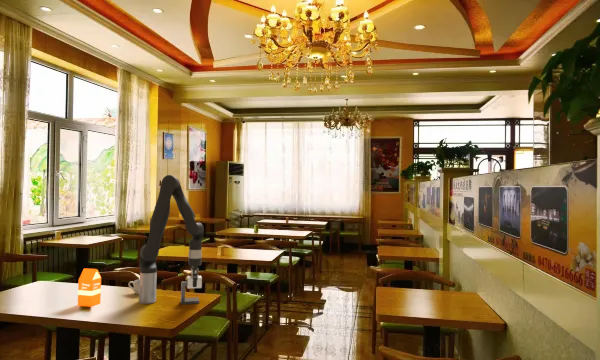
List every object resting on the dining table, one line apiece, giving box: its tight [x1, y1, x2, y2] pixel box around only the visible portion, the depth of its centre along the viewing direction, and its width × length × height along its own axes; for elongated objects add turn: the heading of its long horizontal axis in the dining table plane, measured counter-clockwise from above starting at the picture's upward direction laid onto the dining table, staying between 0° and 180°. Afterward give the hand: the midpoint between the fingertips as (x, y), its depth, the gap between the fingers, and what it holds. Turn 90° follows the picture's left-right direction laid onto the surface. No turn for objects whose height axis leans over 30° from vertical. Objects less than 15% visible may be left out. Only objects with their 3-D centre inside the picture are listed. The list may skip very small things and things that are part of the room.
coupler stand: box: [180, 280, 200, 305], centre depth 249 cm, size 12×8×12 cm
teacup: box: [127, 278, 140, 295], centre depth 266 cm, size 14×11×8 cm
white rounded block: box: [185, 275, 203, 290], centre depth 249 cm, size 9×6×6 cm
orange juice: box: [77, 268, 102, 308], centre depth 239 cm, size 8×9×20 cm
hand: (194, 285), depth 249 cm, fingers closed on white rounded block, 6 cm apart
